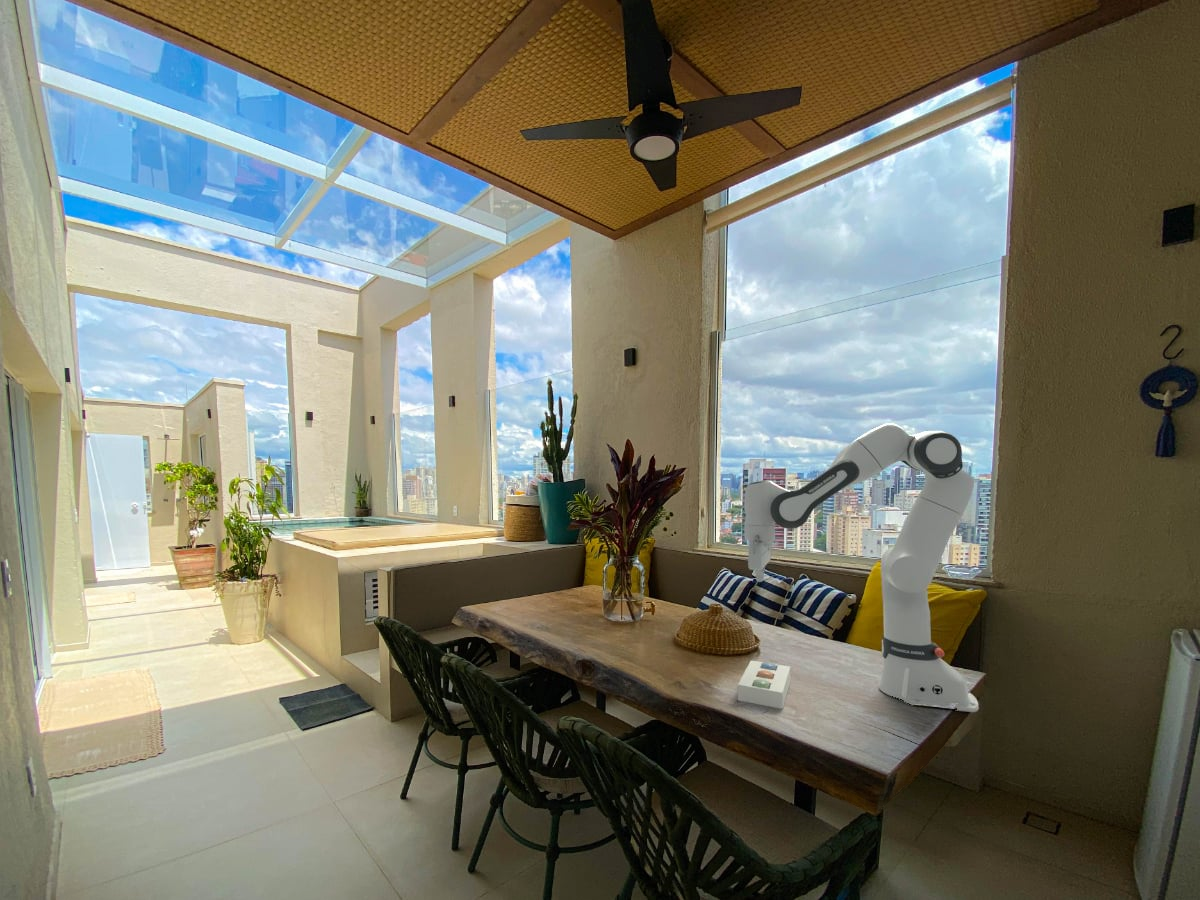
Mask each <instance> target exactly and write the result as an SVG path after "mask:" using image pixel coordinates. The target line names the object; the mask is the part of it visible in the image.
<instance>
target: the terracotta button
mask: <svg viewBox="0 0 1200 900" xmlns="http://www.w3.org/2000/svg"><path fill="white" fill-rule="evenodd" d="M758 677H761V678H767V679H772V673H771V672H770V671H765V670H761V671H759V672H758ZM769 687H770V686H769Z"/></svg>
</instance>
